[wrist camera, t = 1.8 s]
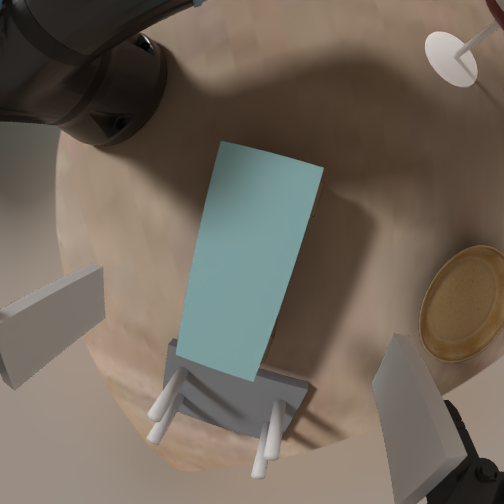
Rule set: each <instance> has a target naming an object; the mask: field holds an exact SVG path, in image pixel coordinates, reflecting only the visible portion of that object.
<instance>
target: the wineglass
mask: <svg viewBox="0 0 504 504" xmlns="http://www.w3.org/2000/svg"><path fill="white" fill-rule="evenodd" d="M486 3H487V6H488V8H489V10H490V12H491V13H492V15H493V17H494V18H495V21H494V22H493V23H491V24H490V25H489V26H488V27H486V28H485V29H484V30H482V31H481V32H480V33H479V34H477V35H476V36H475V37H473V38H472V39H471V40H470V41H468V42H467V43H466V44H464V43H463V42H462V41H460V40H459V39H458V38H456V37H455V36H453V35H451V34H448V33H445V32H434V33H432V34H429V36H428V37H427V39H426V41H425V51H426V56H427V58H428V60H429V62H430V64H431V66H432V67H433V68H434V70H435V71H436V72H437V73H438V74H439V75H440V76H441V77H442V78H443V79H444V80H445V81H447V82H449V83H451V84H452V85H455V86H458V87H469V86H471V85H472V84H474V82H475V81H476V79H477V73H478V70H477V65H476V61H475V59H474V57H473V55H472V53H471V52H470V49H471V48H473V47H474V46H476V45H477V44H478V43H480V42H481V41H482V40H484V39H485V38H487V37H488V36H489V35H491V34H492V33H494V32H495V31H496V30H498V29H499V28H502V29H503V30H504V0H486Z"/></svg>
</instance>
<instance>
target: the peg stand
mask: <svg viewBox="0 0 504 504" xmlns="http://www.w3.org/2000/svg"><path fill="white" fill-rule="evenodd" d="M177 342H178V340H176V339H172V340H171V342H170V343H169V344H168V351H167V359H166V367H165V375H164V383H163V391H162V393H161V394H160V396H159V397H158V399H157V400H156V402H155V403H154V405H153V406H152V408H151V409H150V411H149V412H148V417H149V418H150V419H151V420H152V421H154V422H156V423H155V425H154V427H153V428H152V430H151V431H150V433H149V435H148V436H147V440H148V441H149V442H151V443H152V444H155V445H158V444H159V442H160V441H161V439H162V437H163V435H164V434H165V432H166V430H167V428H168V427H169V425H170V423H171V421H172V420H173V418H174V416H175V414H176V412H177V411H178V412H180V413H183V414H185V415H188V416H191V417H193V418H196V419H199V420H201V421H204V422H207V423H210V424H213V425H216V426H219V427H222V428H225V429H228V430H231V431H234V432H238V433H241V434H244V435H248V436H251V437H255V438H259V439H260V440H259V444H258V449H257V453H256V457H255V462H254V466H253V471H252V474H251V476H252V477H253V478H255V479H264V478H265V474H266V469H267V464H268V460H270V461H274V460H277V459H278V458H279V452H280V445H281V438H282V435H283V434H284V432H285V430H286V429H287V427H288V425H289V424H290V422H291V420H292V418H293V417H294V415H295V413H296V411H297V410H298V408H299V406H300V404H301V402H302V400H303V399H304V397H305V395H306V393H307V391H308V382H306V381H302V380H298V379H294V378H290V377H287V376H283V375H280V374H276V373H273V372H269V371H266V370H262V369H259V368H258V371H257V374H256V376H255V379H254V382H252V381H249V380H246V379H243V378H239V377H236V376H233V375H230V374H227V373H224V372H221V371H218V370H216V369H213V368H210V367H207V366H204V365H202V364H199V363H196V362H194V361H191V360H188V359H186V358H183V357H181V356H178V355H176V348H177Z"/></svg>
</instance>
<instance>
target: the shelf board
mask: <svg viewBox="0 0 504 504" xmlns="http://www.w3.org/2000/svg"><path fill="white" fill-rule="evenodd" d="M323 169H324V168H323V167H319V166H316V165H313V164H310V163H306V162H303V161H299V160H296V159H292V158H289V157H285V156H282V155H278V154H274V153H270V152H267V151H263V150H259V149H255V148H251V147H246V146H242V145H238V144H234V143H229V142H225V141H221V142H220V146H219V149H218V153H217V157H216V161H215V165H214V169H213V173H212V177H211V181H210V185H209V189H208V193H207V197H206V202H205V206H204V210H203V214H202V219H201V223H200V228H199V232H198V237H197V241H196V246H195V251H194V256H193V261H192V265H191V270H190V275H189V281H188V286H187V291H186V296H185V302H184V307H183V313H182V318H181V324H180V330H179V336H178V342H177V348H176V355H178V356H181V357H183V358H186V359H188V360H191V361H194V362H196V363H199V364H202V365H204V366H207V367H210V368H213V369H216V370H218V371H221V372H224V373H227V374H230V375H233V376H236V377H239V378H243V379H246V380H249V381H252V382H254V379H255V376H256V374H257V371H258V368H259V366H260V363H261V360H262V357H263V355H264V352H265V349H266V346H267V344H268V341H269V338H270V335H271V333H272V330H273V327H274V324H275V321H276V318H277V315H278V313H279V310H280V307H281V304H282V301H283V298H284V295H285V292H286V289H287V286H288V283H289V280H290V277H291V274H292V271H293V268H294V265H295V262H296V259H297V256H298V252H299V249H300V246H301V243H302V240H303V237H304V233H305V230H306V227H307V224H308V220H309V217H310V214H311V210H312V207H313V204H314V200H315V197H316V194H317V190H318V187H319V183H320V180H321V176H322V173H323Z"/></svg>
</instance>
